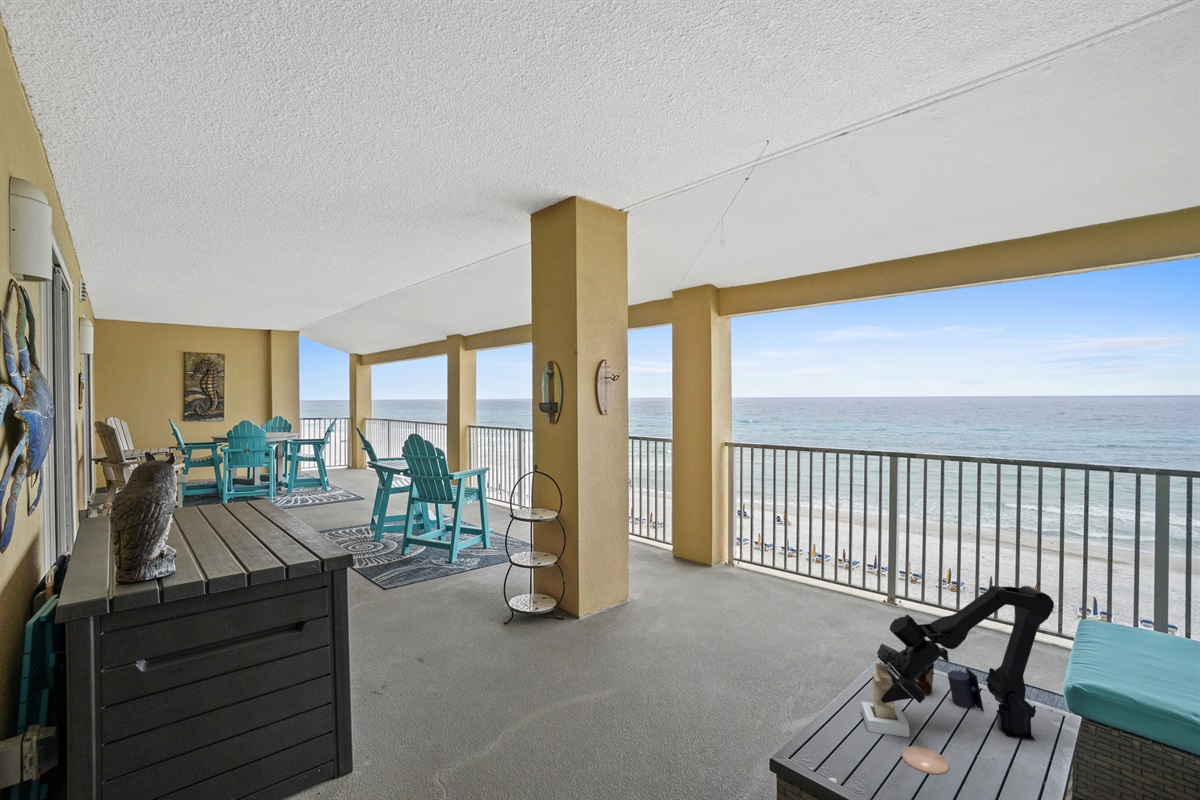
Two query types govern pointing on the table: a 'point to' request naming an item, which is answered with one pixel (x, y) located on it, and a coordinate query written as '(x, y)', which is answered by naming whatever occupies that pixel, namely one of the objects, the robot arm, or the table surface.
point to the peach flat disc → (925, 760)
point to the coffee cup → (925, 678)
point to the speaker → (965, 689)
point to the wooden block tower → (882, 693)
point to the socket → (885, 721)
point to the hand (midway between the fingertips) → (878, 696)
